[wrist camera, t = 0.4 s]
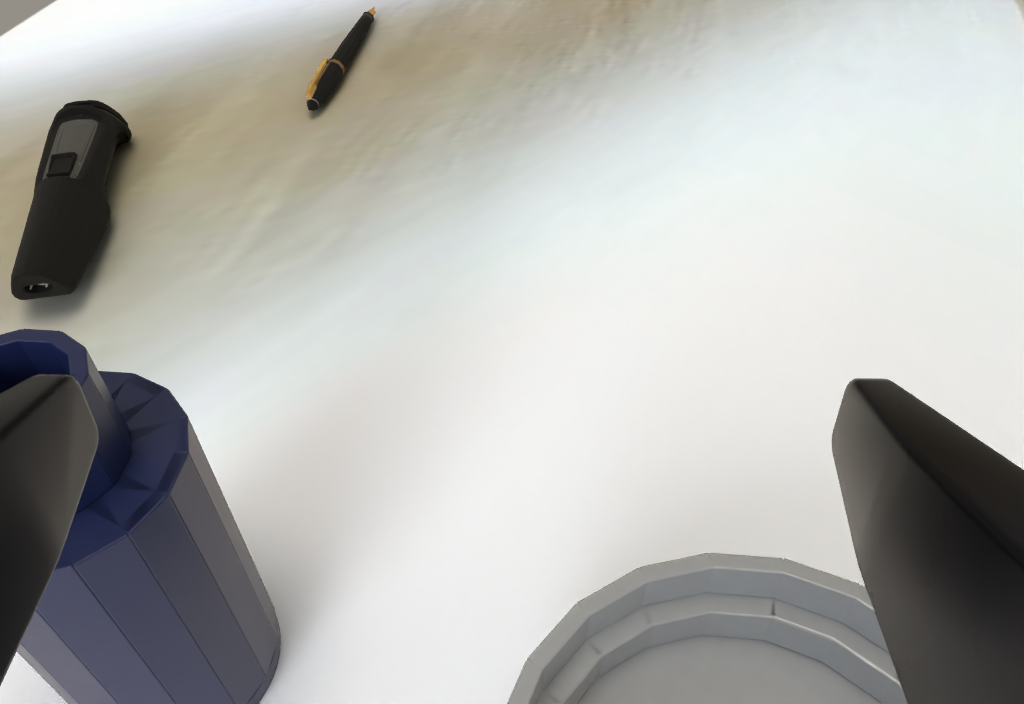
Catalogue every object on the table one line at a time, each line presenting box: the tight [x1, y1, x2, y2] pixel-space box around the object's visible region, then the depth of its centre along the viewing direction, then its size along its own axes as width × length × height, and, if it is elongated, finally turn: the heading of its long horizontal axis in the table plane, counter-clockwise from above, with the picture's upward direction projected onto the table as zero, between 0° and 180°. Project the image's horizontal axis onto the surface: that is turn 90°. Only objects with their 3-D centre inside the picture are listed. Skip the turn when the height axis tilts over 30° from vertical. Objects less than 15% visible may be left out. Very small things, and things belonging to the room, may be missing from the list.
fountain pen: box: [306, 7, 375, 110], centre depth 51 cm, size 14×1×2 cm, turn 172°
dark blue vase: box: [0, 329, 280, 704], centre depth 20 cm, size 6×6×12 cm
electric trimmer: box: [11, 100, 132, 300], centre depth 39 cm, size 4×16×3 cm, turn 12°
